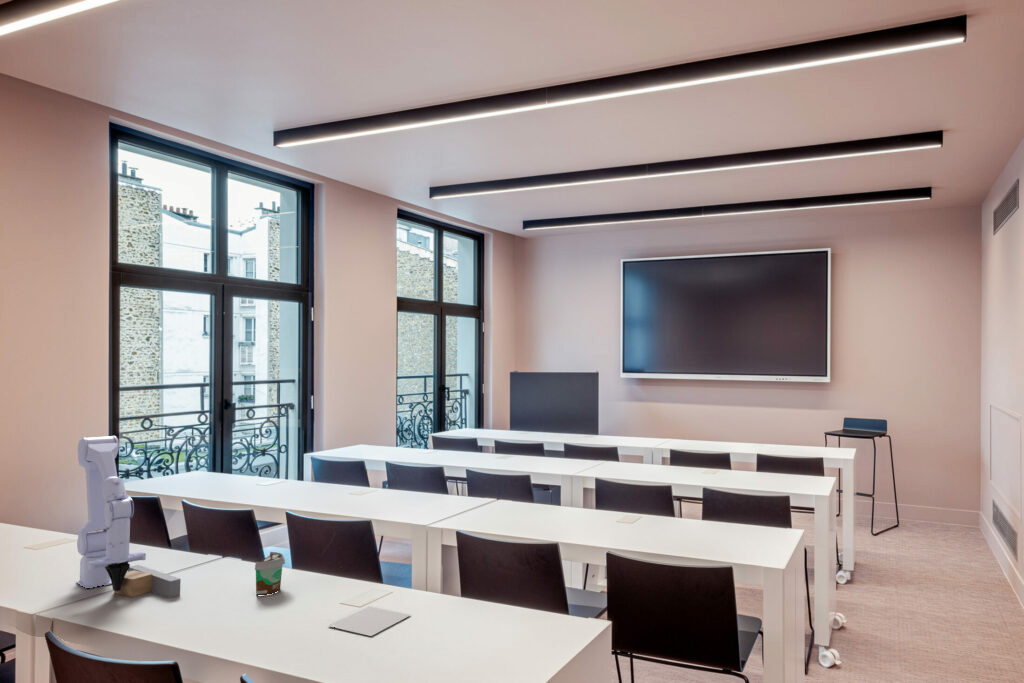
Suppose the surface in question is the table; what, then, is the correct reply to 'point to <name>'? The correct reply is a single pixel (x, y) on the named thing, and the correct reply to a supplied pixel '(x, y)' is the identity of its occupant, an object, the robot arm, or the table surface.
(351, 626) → the grey flat panel
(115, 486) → the robot arm
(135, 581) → the tan block
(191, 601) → the table surface
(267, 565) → the food container
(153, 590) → the gray rectangular bar
